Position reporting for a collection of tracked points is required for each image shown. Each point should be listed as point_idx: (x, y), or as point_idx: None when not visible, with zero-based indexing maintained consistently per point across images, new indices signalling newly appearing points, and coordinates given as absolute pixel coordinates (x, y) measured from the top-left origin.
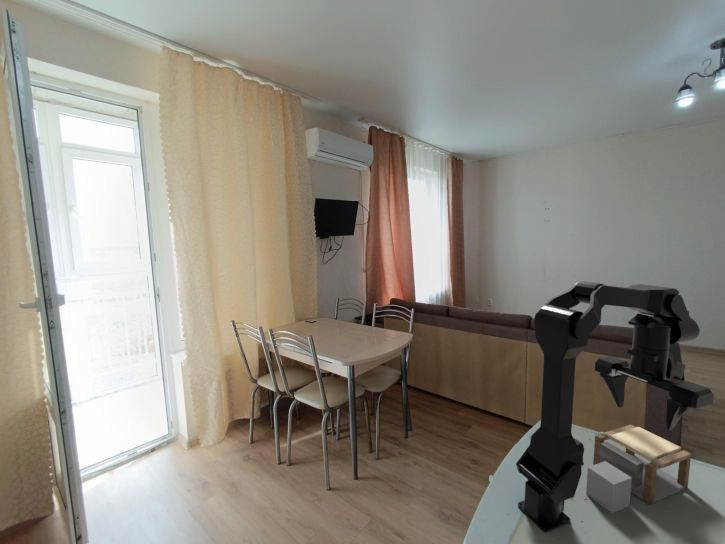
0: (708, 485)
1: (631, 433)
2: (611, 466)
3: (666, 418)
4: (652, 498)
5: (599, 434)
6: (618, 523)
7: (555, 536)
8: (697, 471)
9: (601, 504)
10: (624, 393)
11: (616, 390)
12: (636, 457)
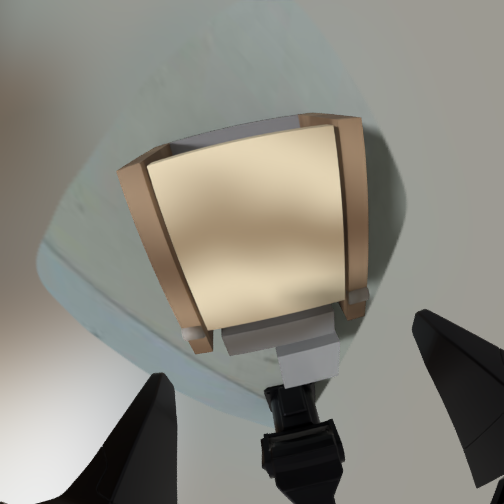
0: (309, 45)
1: (199, 246)
2: (298, 356)
3: (441, 394)
4: None
5: (191, 342)
6: (336, 330)
7: (321, 393)
8: (255, 13)
9: None
10: (135, 442)
11: (173, 497)
12: (180, 146)
